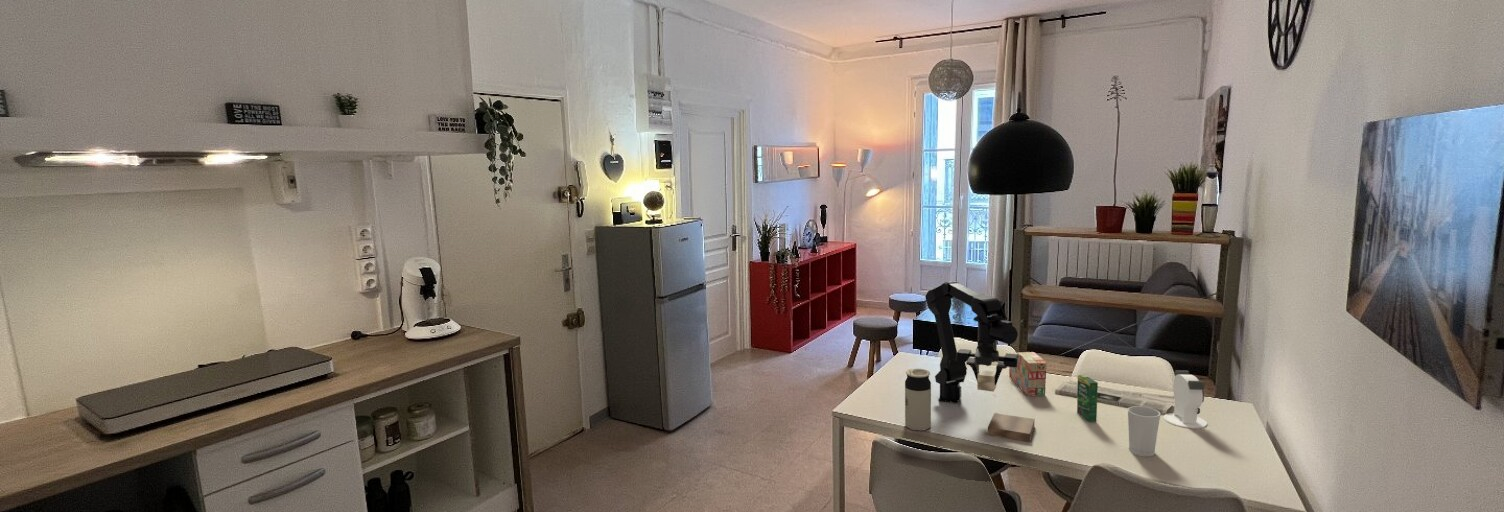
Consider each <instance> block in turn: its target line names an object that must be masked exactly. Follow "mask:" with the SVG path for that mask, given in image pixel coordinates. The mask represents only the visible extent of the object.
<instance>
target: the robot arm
mask: <svg viewBox="0 0 1504 512" xmlns="http://www.w3.org/2000/svg"><path fill="white" fill-rule="evenodd" d="M953 298H955V299H956V300H958V301H961V302H962V303H964V304H966V305H967V306H969V307H970V308H971V312H973V313H974V314H975V315H976V316H975V317H974V318H973V321H974V322H977V346H976V348H975V353H973V352H972V349H966V348H965V349H963V348H960V349H959V350H958V351H957V346H956V341H955V337H954V331H953V327H952V321H951V317H950V311H951V307H952V299H953ZM925 301H926V305H927V308H928V309H929V311H930V312H931V313H932V314H933V316H934V318H935V319H934V320H935V323H936V324H935V325H936V329H937V333H938V338H939V339H938V340H939V344H940V349H941V353H942V354H941V355H942V357H941V360H940V363H939V370H940V371H938V372H937V373H936V374H935V376H934V379H935V380H934V381H935V383H937V384H939V397H938V401H940V402H946V403H954V404H957V403H958V402H959V401H960V400H961V398H962V386H960V385H961V383H964V382H965V379H966V376H967V370H968V367H967V366H969V367H970V368H971V370H972V372H973V374H974V376H975V377H974V378H975V379H976V381H977V376H978V373H979V371H980V366H986V367H991V365H992V363H995V362H996V363H997V364H996V366H995V367H996V368H995V372H996V375H995V385H996V386H997V384H998V381H999V379H1000V375H1001V373H1002V371H1003V369H1007V368H1009V367H1017V366H1018V364H1019V356H1018V355H1017V354H1009V353H1005V355H1004V356H1003V355H1000V351H999V350H998V348H997V345H998V344H997V343H998V342H1000V343H1003V344H1006V345H1012V344H1014V343H1015V342H1016V341H1017V339H1018V335H1019V334H1018V330H1017V329H1016V327H1015V326H1014V325H1013V322H1012V321H1008V318H1007V314H1006V312H1005V311H1004V309H1003V307H1002V304H1001V303H1000V300H999V299H998V298H997V297H994V296H990V295H984V294H980V293H978V292H976V291H974V290H971V289H970V288H968V287H966V286H965V285H962V284H960V282H958V281H956V280H951V281H945V282H944V283H943V282H942V284H940V285H939V286H937V287H935V288H932V289H930V290H928V291H927V292H926V294H925Z"/></svg>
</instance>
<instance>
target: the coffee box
mask: <svg viewBox="0 0 1504 512" xmlns="http://www.w3.org/2000/svg"><path fill="white" fill-rule="evenodd" d="M1077 382H1078V391H1077V398H1076V399H1077V400H1076V401H1077V402H1076V403H1077V404H1076V405H1077V406H1076V413H1077V414H1078V415H1079V416H1080V417H1081V418H1083V419H1084V420H1085V421H1086V422H1088V423H1096V422H1097V419H1098V415H1097V414H1098V402H1097V390H1098V386H1099V383H1098V381H1095V380H1094V379H1092V378H1091V377H1089V376H1088V375H1087V374H1084V375H1083V374H1082V375H1081V374H1080V375H1077Z"/></svg>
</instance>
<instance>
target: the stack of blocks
mask: <svg viewBox="0 0 1504 512" xmlns="http://www.w3.org/2000/svg"><path fill="white" fill-rule="evenodd" d="M1008 354H1017V355H1018V356H1019V364H1018V366H1017V367H1008V368H1009V369H1008V372H1009V373H1008V376H1009V377H1010V378H1011V379H1012V380H1013V382H1014V383H1015V382H1016V383H1017V384H1016V383H1015V384H1016V385H1017V386H1018V387H1019V388H1020V389H1021V391H1023V392H1024V394H1025V395H1026V394H1027V395H1036V396H1046V379H1047V364H1048V363H1047V362H1046V361H1045V360H1044V359H1043V358H1042V357H1041V356H1040V355H1038V354H1037V353H1036V352H1034V351H1031V352H1030V351H1026V352H1025V351H1024V352H1009V353H1008ZM1027 395H1026V396H1027Z"/></svg>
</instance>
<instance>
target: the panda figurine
mask: <svg viewBox="0 0 1504 512" xmlns="http://www.w3.org/2000/svg"><path fill="white" fill-rule="evenodd" d="M1172 384H1173V385H1172V390H1173V391H1172V392H1173V395H1174V397H1175V403H1174V409H1173V410H1174V411H1173V412H1169V413H1166V415H1163V420H1164V421H1165V422H1167V423H1168V424H1171V425H1173V426H1177V427H1180V428H1184V429H1202V428H1203V429H1204V428H1205V426H1206V425H1208V422H1207V421H1206V420H1204V419H1203V418H1201V417H1199V416H1198V415H1199V414H1200V413H1201V409H1200V407H1201V406H1202V404H1203V403H1204V401H1205V394H1204V389H1205V383H1204V381H1203V380H1199V379H1198V377H1196V376H1195V375H1193V374H1190V371H1189V370H1179V369H1178V370H1177V369H1176V370H1174V379H1173V383H1172ZM1206 427H1207V426H1206Z"/></svg>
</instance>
